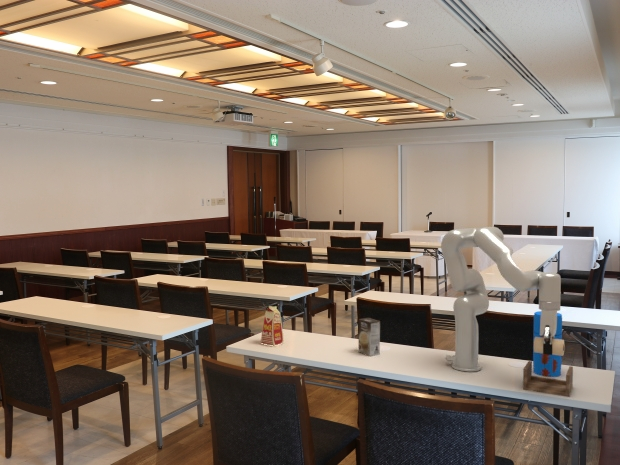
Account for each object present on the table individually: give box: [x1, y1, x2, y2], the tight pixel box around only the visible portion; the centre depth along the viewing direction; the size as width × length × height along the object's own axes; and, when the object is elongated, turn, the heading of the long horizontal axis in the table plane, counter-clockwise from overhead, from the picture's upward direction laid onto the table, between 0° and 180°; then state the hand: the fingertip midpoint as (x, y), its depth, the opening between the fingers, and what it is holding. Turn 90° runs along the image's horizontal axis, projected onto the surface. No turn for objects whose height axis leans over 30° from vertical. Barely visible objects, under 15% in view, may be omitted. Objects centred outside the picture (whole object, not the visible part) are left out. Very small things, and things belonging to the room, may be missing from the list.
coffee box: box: [357, 317, 381, 357], centre depth 261 cm, size 9×6×16 cm
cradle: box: [522, 360, 574, 398], centre depth 211 cm, size 16×12×8 cm
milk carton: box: [260, 305, 284, 346], centre depth 280 cm, size 9×9×20 cm
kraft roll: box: [532, 337, 566, 357], centre depth 211 cm, size 11×6×6 cm, turn 59°
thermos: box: [532, 310, 563, 378], centre depth 230 cm, size 11×11×25 cm
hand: (548, 351), depth 211 cm, fingers closed on kraft roll, 6 cm apart
